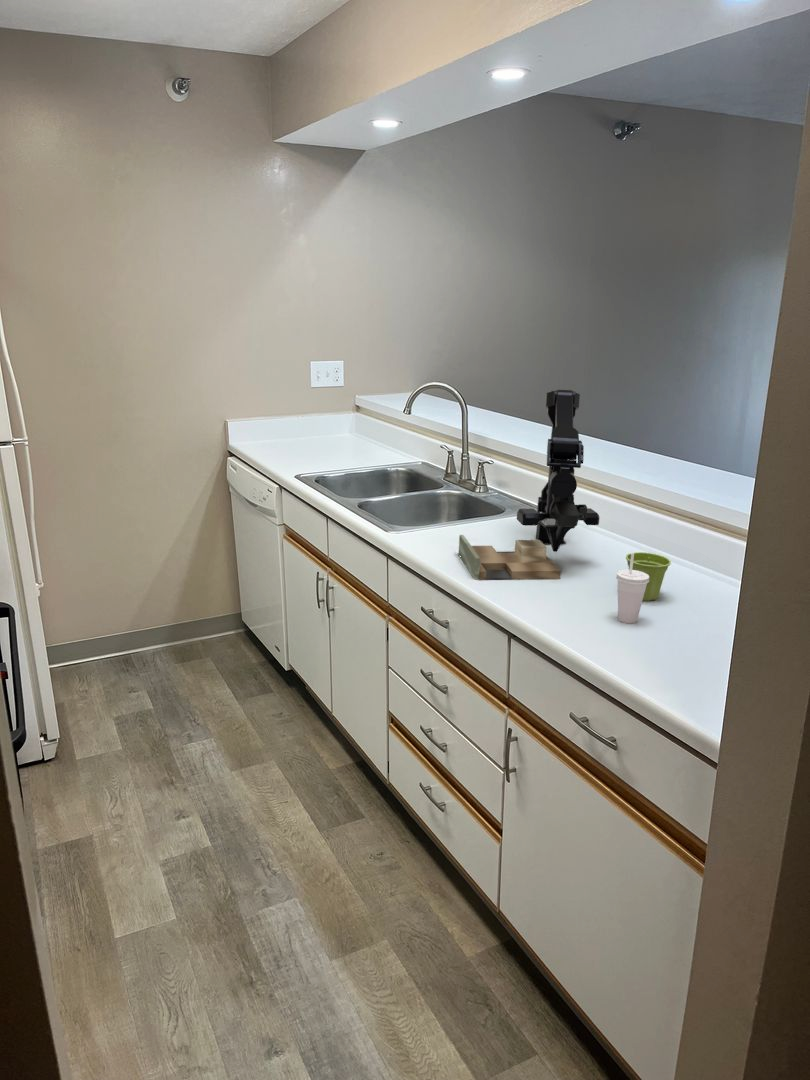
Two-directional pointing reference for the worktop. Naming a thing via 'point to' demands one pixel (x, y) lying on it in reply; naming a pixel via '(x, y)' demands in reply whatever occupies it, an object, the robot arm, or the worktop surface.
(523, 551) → the birch block
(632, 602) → the smoothie
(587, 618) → the worktop surface
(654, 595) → the plant pot
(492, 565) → the board
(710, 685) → the worktop surface
